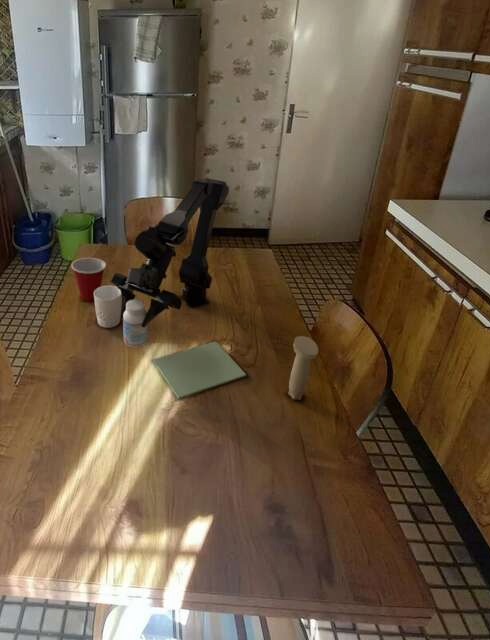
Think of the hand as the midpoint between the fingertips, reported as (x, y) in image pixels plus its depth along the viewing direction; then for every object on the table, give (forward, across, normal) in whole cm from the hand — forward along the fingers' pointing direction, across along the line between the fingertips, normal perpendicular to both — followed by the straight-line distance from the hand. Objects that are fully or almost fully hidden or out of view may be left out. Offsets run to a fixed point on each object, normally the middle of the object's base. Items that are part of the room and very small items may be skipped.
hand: (132, 322), depth 108 cm
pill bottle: (+4, 0, +6) cm, 7 cm away
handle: (+1, +39, +17) cm, 43 cm away
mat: (+4, +16, +14) cm, 21 cm away
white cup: (+2, -16, +16) cm, 22 cm away
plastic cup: (-3, -29, +21) cm, 36 cm away
